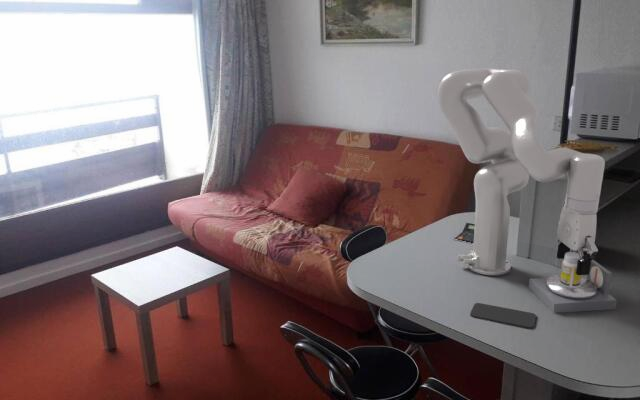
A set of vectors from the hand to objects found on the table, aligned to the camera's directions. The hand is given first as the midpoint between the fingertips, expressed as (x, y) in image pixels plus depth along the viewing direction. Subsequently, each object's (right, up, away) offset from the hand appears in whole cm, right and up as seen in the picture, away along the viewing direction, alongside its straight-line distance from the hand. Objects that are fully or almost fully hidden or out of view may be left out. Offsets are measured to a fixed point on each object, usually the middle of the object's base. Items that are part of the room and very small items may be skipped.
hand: (572, 265), depth 137 cm
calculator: (-13, +4, +45) cm, 47 cm away
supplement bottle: (0, -5, +2) cm, 5 cm away
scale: (+1, -9, +2) cm, 9 cm away
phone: (-20, -12, -5) cm, 24 cm away
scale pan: (0, -6, +2) cm, 6 cm away
